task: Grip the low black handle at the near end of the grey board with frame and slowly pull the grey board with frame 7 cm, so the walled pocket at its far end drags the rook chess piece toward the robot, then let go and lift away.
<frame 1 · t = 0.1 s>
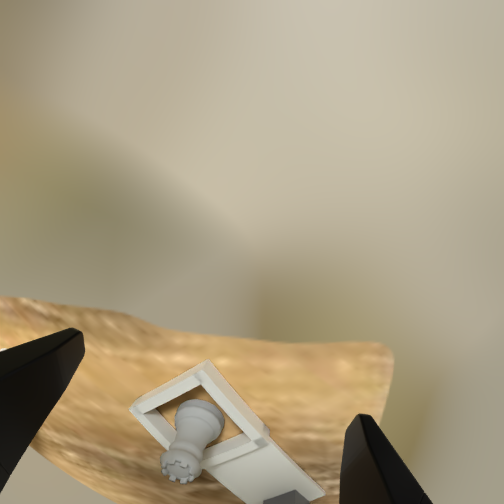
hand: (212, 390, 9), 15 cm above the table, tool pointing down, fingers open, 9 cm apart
rook chess piece: (201, 414, 26), resting in grey board with frame
grey board with frame: (235, 467, 24), point 2 cm above the table, slide at 0.0 cm
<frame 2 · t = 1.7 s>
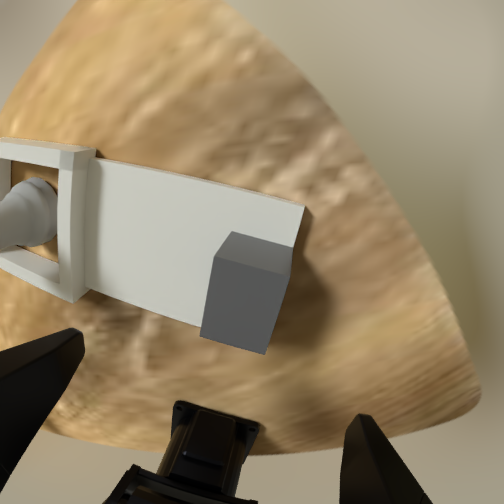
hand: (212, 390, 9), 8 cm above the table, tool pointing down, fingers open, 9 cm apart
rook chess piece: (43, 207, 17), resting in grey board with frame
grey board with frame: (88, 240, 15), point 2 cm above the table, slide at 0.0 cm
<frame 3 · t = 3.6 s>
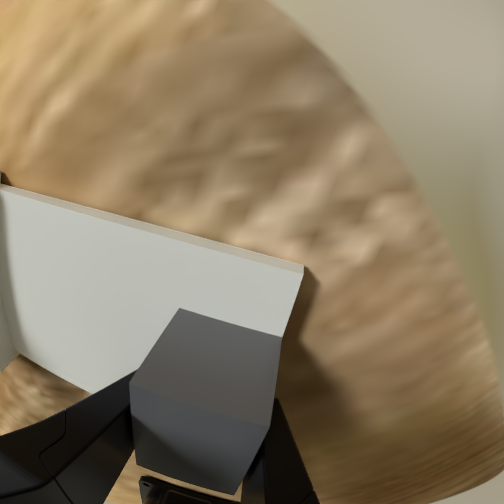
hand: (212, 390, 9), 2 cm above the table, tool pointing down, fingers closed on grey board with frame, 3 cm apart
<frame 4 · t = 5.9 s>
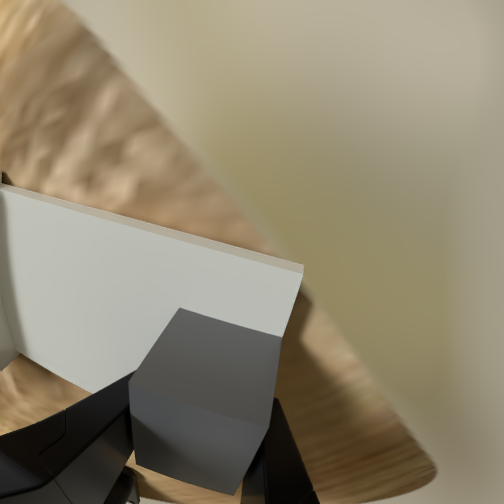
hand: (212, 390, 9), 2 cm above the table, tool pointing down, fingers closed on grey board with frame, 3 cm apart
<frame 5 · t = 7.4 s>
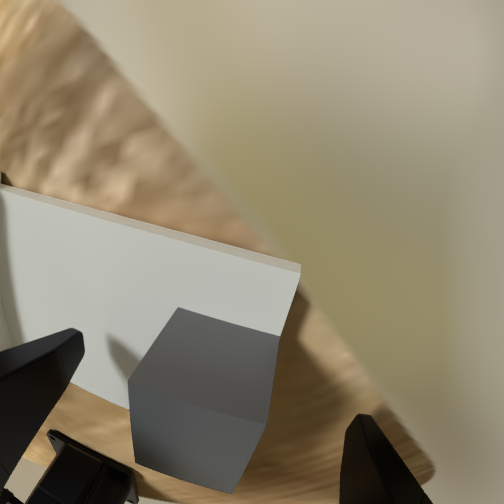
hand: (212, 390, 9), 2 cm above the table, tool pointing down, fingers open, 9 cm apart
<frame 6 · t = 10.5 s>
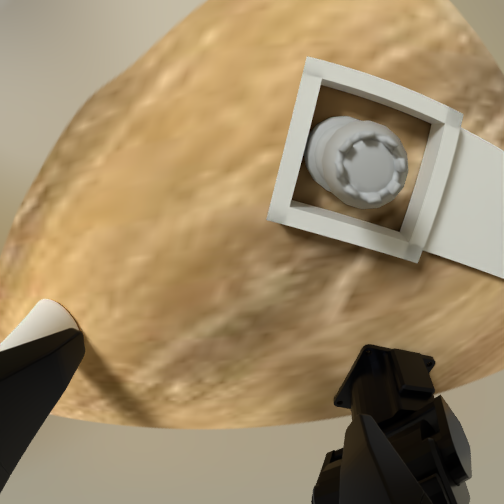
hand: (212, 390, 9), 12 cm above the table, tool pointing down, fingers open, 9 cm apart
rook chess piece: (341, 154, 17), resting in grey board with frame
grey board with frame: (460, 196, 15), point 2 cm above the table, slide at 6.9 cm
cosmetic bottle: (59, 324, 26), on the table
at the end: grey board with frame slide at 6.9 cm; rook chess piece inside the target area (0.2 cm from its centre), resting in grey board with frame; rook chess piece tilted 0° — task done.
